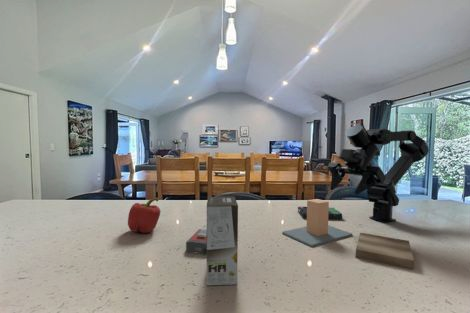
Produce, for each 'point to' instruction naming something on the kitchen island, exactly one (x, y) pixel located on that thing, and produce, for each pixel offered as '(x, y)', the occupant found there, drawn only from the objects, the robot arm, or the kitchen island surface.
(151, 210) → the vegetable
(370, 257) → the plate
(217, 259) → the coffee box
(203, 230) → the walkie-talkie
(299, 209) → the disk drive
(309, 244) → the slate grey mat
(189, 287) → the kitchen island surface
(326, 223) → the terracotta block
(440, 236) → the kitchen island surface
